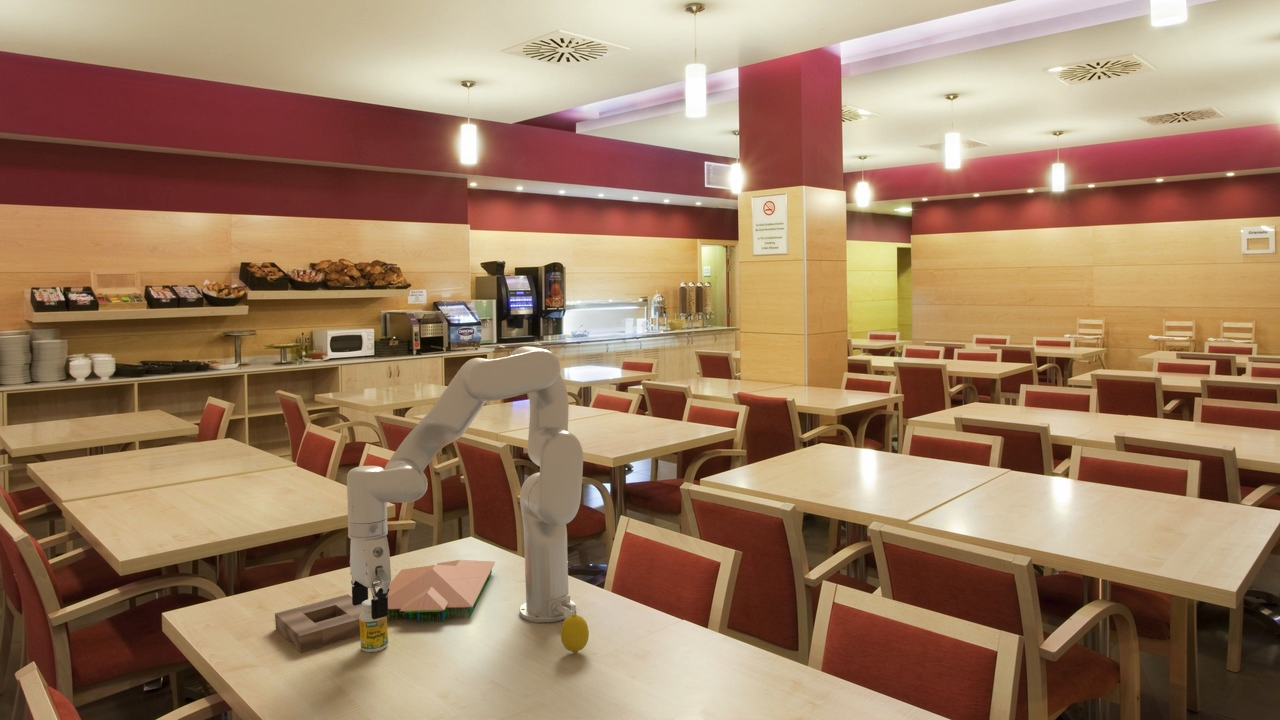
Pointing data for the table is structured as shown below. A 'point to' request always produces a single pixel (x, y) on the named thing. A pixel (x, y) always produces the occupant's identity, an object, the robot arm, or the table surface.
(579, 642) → the lemon
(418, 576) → the house
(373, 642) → the supplement bottle
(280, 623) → the holder
